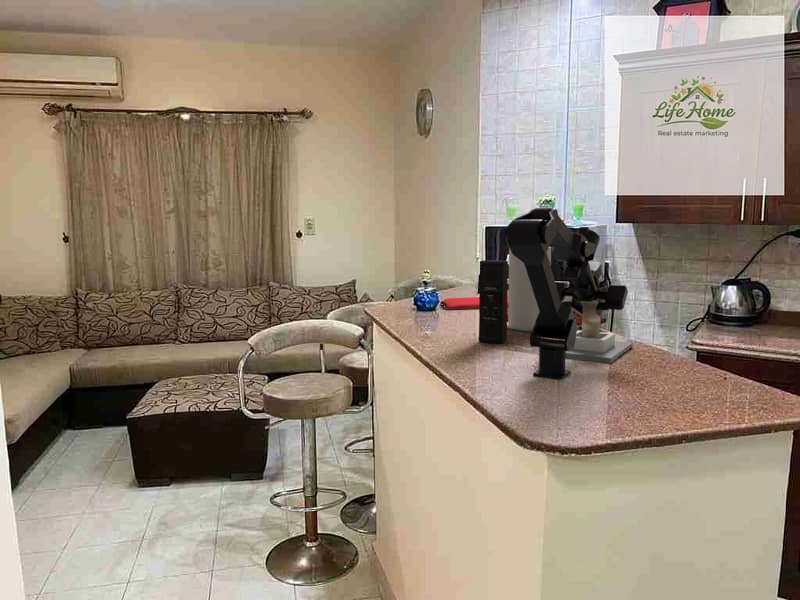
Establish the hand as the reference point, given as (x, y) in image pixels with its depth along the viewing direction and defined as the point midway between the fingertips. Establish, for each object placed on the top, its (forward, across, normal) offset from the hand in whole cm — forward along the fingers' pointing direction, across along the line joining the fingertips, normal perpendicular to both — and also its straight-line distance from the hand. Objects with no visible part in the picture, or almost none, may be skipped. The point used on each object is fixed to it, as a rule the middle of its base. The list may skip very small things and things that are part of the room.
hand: (592, 315), depth 156 cm
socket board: (+6, 0, +7) cm, 9 cm away
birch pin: (+4, 0, +6) cm, 7 cm away
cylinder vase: (+21, +26, -8) cm, 35 cm away
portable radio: (+4, +27, +9) cm, 29 cm away
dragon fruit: (+28, +10, -14) cm, 33 cm away
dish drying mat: (+48, +56, -35) cm, 81 cm away
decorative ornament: (+29, +40, -16) cm, 52 cm away
